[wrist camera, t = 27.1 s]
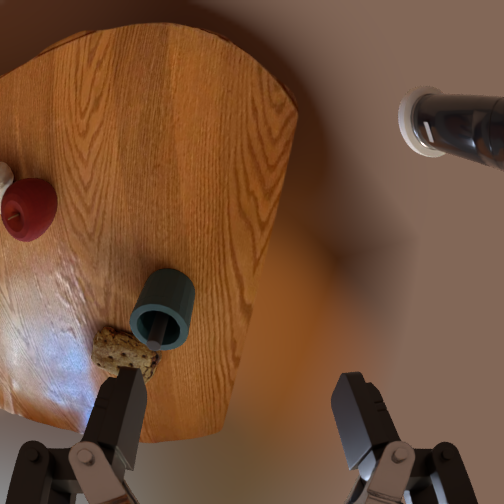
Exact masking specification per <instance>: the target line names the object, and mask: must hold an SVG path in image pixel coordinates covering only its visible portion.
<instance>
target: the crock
mask: <svg viewBox="0 0 504 504" xmlns="http://www.w3.org/2000/svg"><path fill="white" fill-rule="evenodd" d="M194 299H195V289H194V286H193V283H192V282H191V280H190V279H189V278H188V277H187V276H186V275H185V274H183V273H182V272H180V271H177V270H174V269H160V270H157V271H155V272H154V273H152V274H151V275H150V276H149V278H148V280H147V281H146V283H145V285H144V287H143V289H142V292H141V294H140V296H139V298H138V300H137V303H136V305H135V307H134V309H133V311H132V314H131V317H130V327H131V330H132V332H133V334H134V335H135V337H136V338H137V339H138V340H139V341H140V342H142V343H143V344H145V345H146V343H147V340H148V337H149V334H150V331H151V328H152V325H153V322H154V319H155V316H156V313H157V311H161V312H164V313H167V314H169V319H168V322H167V326H166V330H165V333H164V337H163V341H162V345H161V348H160V350H171V349H175V348H177V347H179V346H181V345H182V344H183V343H184V342H185V341H186V339H187V336H188V332H189V326H190V321H191V315H192V310H193V304H194Z"/></svg>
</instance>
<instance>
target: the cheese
mask: <svg viewBox="0 0 504 504" xmlns="http://www.w3.org/2000/svg"><path fill="white" fill-rule="evenodd" d="M13 178H14V175H13V173H12V171H11V167H9V166H8V164H7V163H5V162H0V214H1V201H2V197H3V195H4V193H5V191H6V190H7V188H8V187H9V186H10V185H12V182H13Z"/></svg>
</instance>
